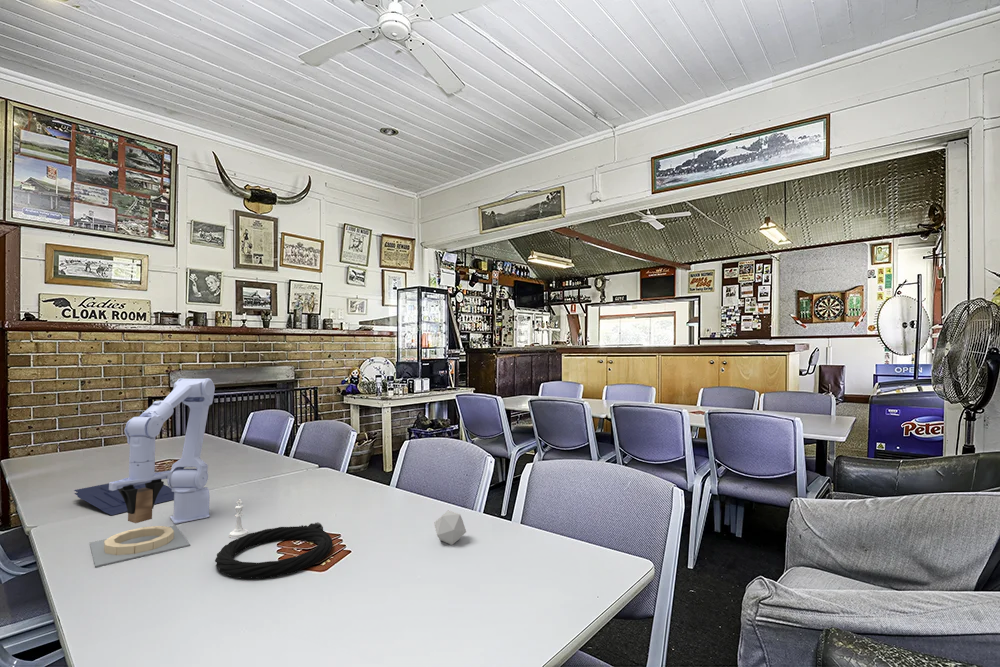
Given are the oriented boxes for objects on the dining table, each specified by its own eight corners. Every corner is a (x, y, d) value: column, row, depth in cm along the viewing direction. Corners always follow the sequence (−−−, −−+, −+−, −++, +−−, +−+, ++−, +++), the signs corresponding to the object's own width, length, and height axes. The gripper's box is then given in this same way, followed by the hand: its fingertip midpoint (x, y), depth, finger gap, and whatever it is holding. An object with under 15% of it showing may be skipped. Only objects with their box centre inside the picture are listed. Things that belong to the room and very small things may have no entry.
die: (472, 543, 137) (467, 509, 143) (458, 537, 130) (454, 502, 136) (445, 552, 139) (442, 517, 145) (431, 546, 132) (428, 510, 138)
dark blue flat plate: (143, 483, 193) (144, 473, 193) (187, 503, 179) (188, 493, 179) (66, 499, 171) (67, 488, 171) (109, 524, 157) (110, 512, 157)
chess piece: (240, 538, 139) (240, 502, 139) (224, 537, 140) (225, 501, 140) (252, 532, 144) (252, 497, 144) (237, 531, 145) (238, 496, 145)
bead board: (175, 526, 148) (176, 518, 148) (190, 545, 134) (190, 536, 134) (89, 543, 135) (89, 535, 135) (95, 567, 120) (95, 557, 120)
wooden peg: (144, 516, 137) (145, 487, 138) (152, 518, 135) (152, 489, 136) (127, 520, 134) (128, 491, 134) (135, 523, 132) (136, 493, 132)
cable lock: (187, 556, 119) (280, 516, 147) (187, 572, 119) (280, 529, 147) (279, 573, 110) (359, 527, 138) (279, 590, 110) (359, 541, 138)
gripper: (162, 454, 143) (161, 501, 143) (103, 464, 131) (102, 516, 130) (176, 456, 140) (175, 505, 139) (117, 467, 127) (115, 520, 127)
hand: (140, 510), depth 135 cm, fingers closed on wooden peg, 4 cm apart
